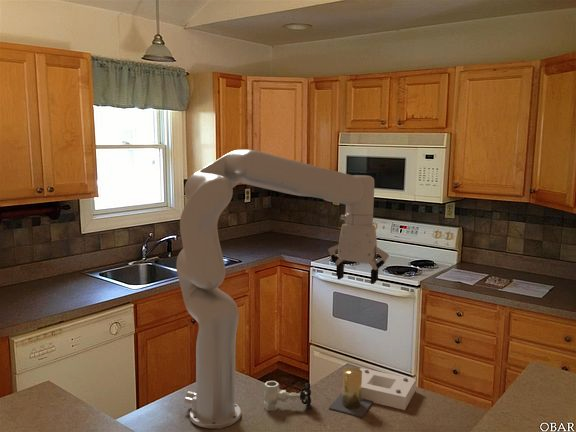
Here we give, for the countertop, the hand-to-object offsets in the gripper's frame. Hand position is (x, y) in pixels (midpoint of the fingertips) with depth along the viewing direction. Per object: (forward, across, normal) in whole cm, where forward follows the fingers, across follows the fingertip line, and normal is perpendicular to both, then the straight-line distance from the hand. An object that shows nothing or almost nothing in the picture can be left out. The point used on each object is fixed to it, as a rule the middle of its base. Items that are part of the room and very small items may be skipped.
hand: (356, 280), depth 145 cm
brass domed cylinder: (+30, +4, -13) cm, 33 cm away
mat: (+30, +4, -12) cm, 33 cm away
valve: (+31, -10, -22) cm, 39 cm away
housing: (+30, +9, -2) cm, 32 cm away
